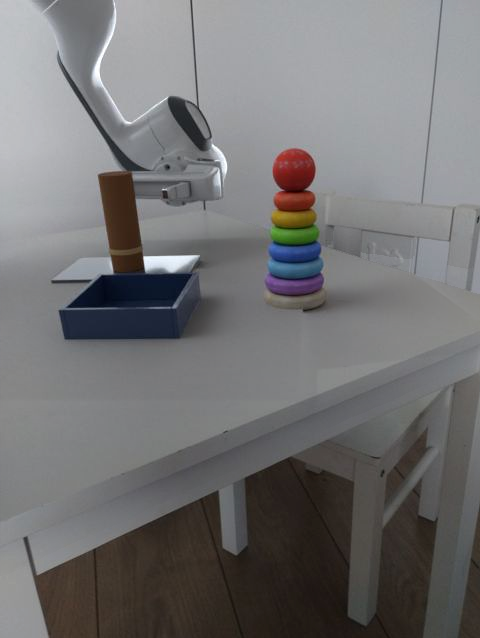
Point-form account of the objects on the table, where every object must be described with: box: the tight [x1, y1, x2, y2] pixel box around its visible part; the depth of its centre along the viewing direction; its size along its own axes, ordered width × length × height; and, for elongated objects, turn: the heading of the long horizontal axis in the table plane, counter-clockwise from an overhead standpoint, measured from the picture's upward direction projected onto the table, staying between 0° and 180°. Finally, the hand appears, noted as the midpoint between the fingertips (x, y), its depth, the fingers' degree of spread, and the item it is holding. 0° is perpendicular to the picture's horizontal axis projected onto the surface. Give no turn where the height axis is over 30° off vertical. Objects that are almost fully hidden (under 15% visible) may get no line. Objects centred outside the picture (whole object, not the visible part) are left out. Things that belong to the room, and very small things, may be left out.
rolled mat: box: [97, 170, 145, 272], centre depth 85 cm, size 5×5×14 cm
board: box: [50, 254, 202, 284], centre depth 88 cm, size 20×12×1 cm, turn 85°
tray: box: [58, 271, 202, 341], centre depth 69 cm, size 13×13×4 cm
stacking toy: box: [263, 147, 327, 311], centre depth 69 cm, size 8×8×19 cm
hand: (138, 194), depth 88 cm, fingers open, 8 cm apart
